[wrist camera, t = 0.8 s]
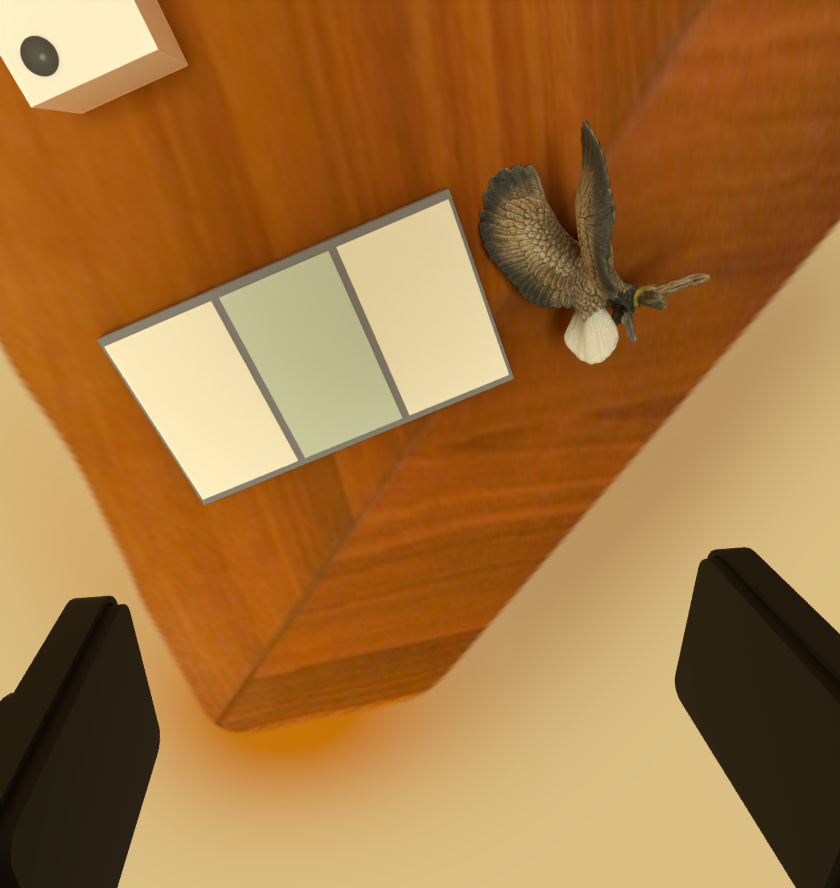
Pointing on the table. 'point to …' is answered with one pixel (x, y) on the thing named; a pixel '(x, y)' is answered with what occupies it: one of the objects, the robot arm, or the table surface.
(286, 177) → the table surface
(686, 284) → the eagle figurine
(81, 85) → the die
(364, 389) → the game board
